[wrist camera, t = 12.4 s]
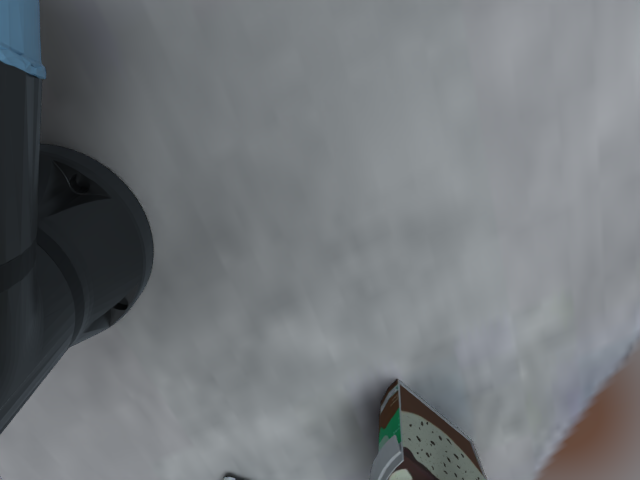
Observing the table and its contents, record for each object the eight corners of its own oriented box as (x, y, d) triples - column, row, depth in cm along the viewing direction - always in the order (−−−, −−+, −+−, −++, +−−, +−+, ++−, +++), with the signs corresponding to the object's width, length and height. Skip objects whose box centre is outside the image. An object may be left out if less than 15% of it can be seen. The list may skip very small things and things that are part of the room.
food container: (334, 411, 48) (334, 505, 39) (385, 368, 47) (397, 455, 37) (431, 487, 51) (453, 591, 42) (483, 449, 50) (517, 549, 40)
